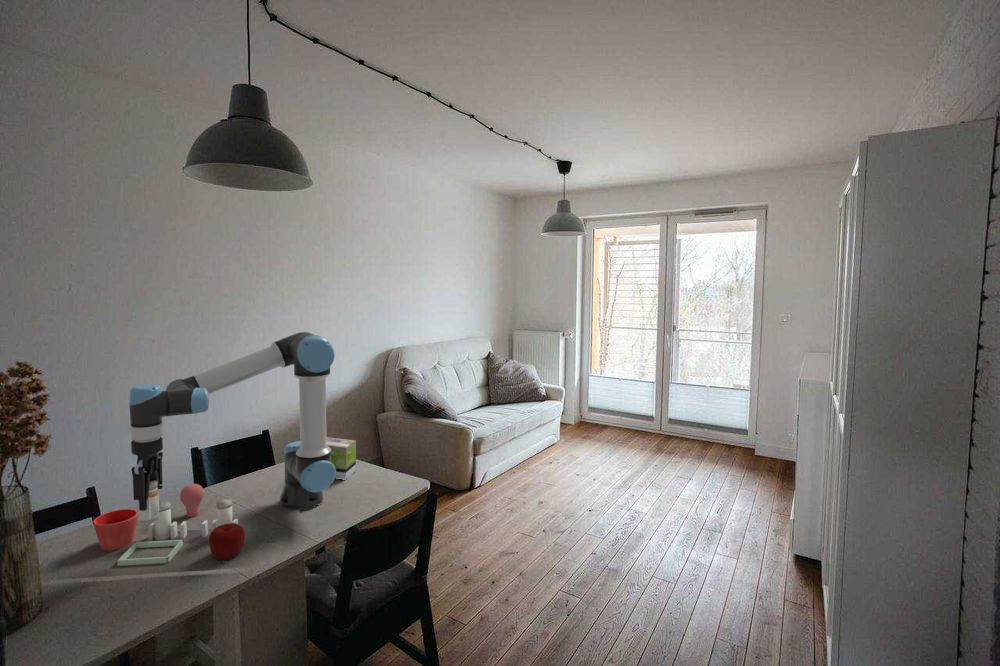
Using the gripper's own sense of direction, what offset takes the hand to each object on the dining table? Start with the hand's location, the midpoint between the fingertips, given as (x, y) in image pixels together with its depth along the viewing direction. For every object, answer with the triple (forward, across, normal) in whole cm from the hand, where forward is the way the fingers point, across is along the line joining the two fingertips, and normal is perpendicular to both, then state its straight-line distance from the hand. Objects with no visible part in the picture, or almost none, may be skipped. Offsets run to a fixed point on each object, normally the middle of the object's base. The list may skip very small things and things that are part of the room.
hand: (149, 515), depth 151 cm
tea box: (+13, -60, +45) cm, 76 cm away
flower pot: (+14, -8, -13) cm, 20 cm away
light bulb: (+13, -25, +2) cm, 29 cm away
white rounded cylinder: (+12, -10, +17) cm, 23 cm away
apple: (+13, +2, +22) cm, 26 cm away
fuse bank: (+13, -10, +8) cm, 19 cm away
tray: (+13, 0, 0) cm, 13 cm away
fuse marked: (+1, 0, 0) cm, 1 cm away
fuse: (+12, -10, -1) cm, 16 cm away
